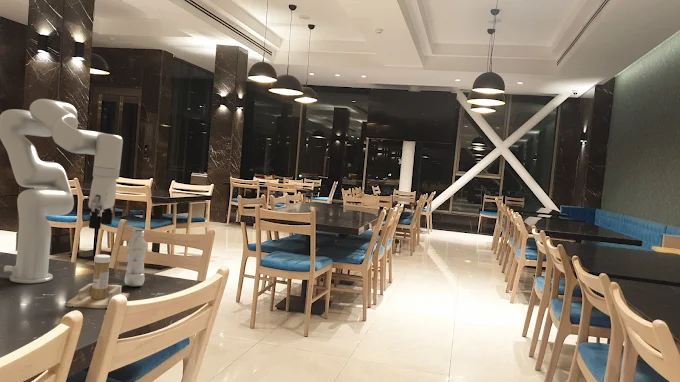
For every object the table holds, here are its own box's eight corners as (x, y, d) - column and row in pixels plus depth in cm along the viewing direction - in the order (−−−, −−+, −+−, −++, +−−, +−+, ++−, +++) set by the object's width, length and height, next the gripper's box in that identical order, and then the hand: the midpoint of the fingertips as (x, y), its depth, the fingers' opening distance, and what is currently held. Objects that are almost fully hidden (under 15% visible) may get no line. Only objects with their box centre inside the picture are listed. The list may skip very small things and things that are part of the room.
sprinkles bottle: (88, 296, 150) (92, 254, 149) (103, 294, 153) (106, 253, 153) (94, 300, 147) (98, 257, 146) (109, 298, 150) (113, 256, 150)
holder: (65, 306, 142) (66, 292, 142) (84, 293, 156) (85, 281, 156) (115, 309, 144) (116, 296, 144) (129, 296, 158) (130, 284, 158)
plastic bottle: (136, 289, 167) (141, 232, 166) (119, 286, 168) (124, 230, 167) (147, 285, 173) (152, 230, 172) (131, 282, 174) (135, 228, 173)
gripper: (103, 170, 159) (98, 221, 160) (82, 172, 142) (76, 229, 143) (127, 173, 160) (121, 223, 161) (108, 175, 143) (102, 231, 144)
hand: (100, 226), depth 152 cm, fingers open, 9 cm apart
